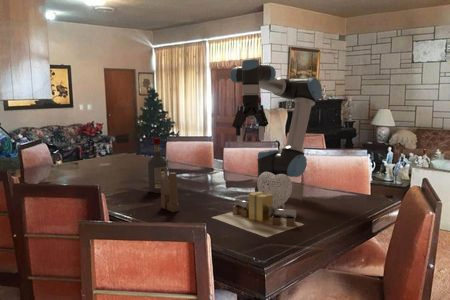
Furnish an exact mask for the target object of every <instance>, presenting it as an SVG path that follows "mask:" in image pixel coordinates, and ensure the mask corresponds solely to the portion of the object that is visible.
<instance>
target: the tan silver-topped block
mask: <svg viewBox="0 0 450 300" xmlns="http://www.w3.org/2000/svg"><path fill="white" fill-rule="evenodd" d="M233 203H234V206H232V212H233V214H236V215H239V214H242V217H245V218H248V217H249V201H246V200H243V199H239V198H235V200H234V202H233Z"/></svg>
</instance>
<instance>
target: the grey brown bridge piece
mask: <svg viewBox="0 0 450 300" xmlns="http://www.w3.org/2000/svg"><path fill="white" fill-rule="evenodd" d="M272 216H273V226H280V225H281V222H282V218H285V219H286V226H288V227H294V225H295V222H296V218H297V210H296V209H287V208H284V209H283V208H280V209H279V208H274V209H273V207H270V209H269V217H270V218H272Z"/></svg>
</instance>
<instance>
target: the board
mask: <svg viewBox="0 0 450 300" xmlns="http://www.w3.org/2000/svg"><path fill="white" fill-rule="evenodd" d="M210 219H214V220H217V221H220V222H223V223H226V224H228V225H230V226H233V227H236V228H239V229H241V230H244V231H247V232H250V233H253V234H256V235H258V236H261V237H265V238H269V237H272V236H275V235H278V234H280V233H283V232H286V231H290V230H293V229H296V228H298V227H301V226H304V225H305V223H302V222H297V221H295V225H294V227H288V226H286V217H282V222H281V225H280V226H273V221H270V222H266V223H263V224H262V223H259V222H256V221H253V220H250V219H249V217H248V218H245V217H242V214H239V215H236V214H233V211H230V212H226V213H223V214H218V215H215V216H211V218H210Z"/></svg>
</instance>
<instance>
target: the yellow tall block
mask: <svg viewBox="0 0 450 300" xmlns="http://www.w3.org/2000/svg"><path fill="white" fill-rule="evenodd" d="M248 202H249V219H250V220H253V221H256V222H259V223H262V224H263V223H266V222H270V221H273V216H272V218H270V217H269V209H270V207H273V195H271V194H267V193H263V192H255V191H254V192H250V193H248Z"/></svg>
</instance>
